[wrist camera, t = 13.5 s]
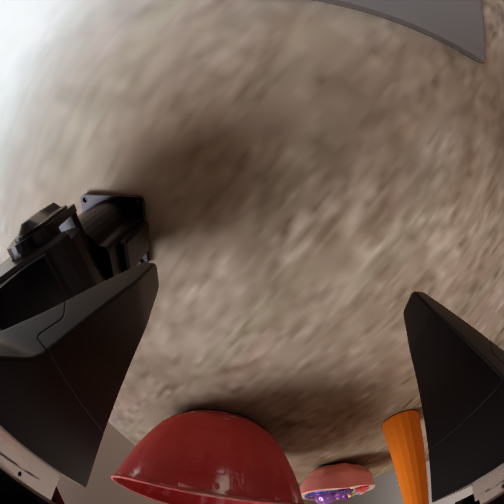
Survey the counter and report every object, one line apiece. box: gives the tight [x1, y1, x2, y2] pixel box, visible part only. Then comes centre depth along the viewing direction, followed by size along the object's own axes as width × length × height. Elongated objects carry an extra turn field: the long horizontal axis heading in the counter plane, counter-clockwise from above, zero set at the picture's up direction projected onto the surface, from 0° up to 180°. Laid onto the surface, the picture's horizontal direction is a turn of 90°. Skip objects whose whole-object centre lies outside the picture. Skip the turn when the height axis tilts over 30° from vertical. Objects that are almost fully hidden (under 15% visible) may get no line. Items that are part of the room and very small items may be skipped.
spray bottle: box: [382, 410, 429, 504], centre depth 25 cm, size 7×11×26 cm, turn 49°
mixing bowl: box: [111, 410, 304, 504], centre depth 33 cm, size 28×28×16 cm
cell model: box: [300, 463, 375, 504], centre depth 45 cm, size 17×20×11 cm
